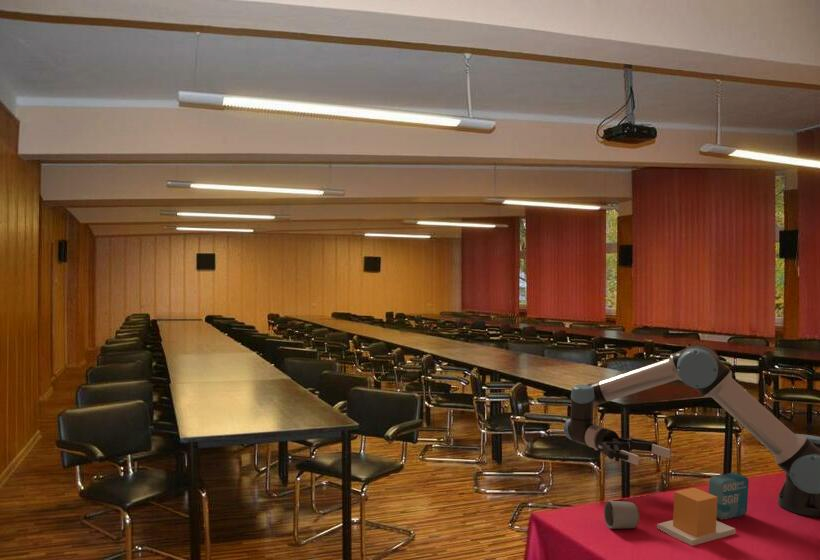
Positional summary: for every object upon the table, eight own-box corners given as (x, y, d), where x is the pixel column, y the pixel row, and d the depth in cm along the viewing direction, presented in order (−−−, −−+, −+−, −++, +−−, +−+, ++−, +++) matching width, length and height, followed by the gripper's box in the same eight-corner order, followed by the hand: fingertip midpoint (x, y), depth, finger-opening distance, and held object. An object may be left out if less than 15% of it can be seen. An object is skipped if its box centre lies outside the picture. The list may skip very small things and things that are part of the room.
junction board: (699, 518, 205) (700, 492, 205) (735, 533, 195) (736, 506, 194) (657, 528, 196) (658, 501, 196) (692, 545, 186) (693, 517, 185)
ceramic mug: (641, 532, 194) (642, 505, 194) (613, 533, 193) (614, 506, 193) (624, 517, 204) (625, 492, 204) (598, 518, 203) (599, 493, 203)
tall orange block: (691, 521, 199) (693, 487, 198) (715, 531, 192) (717, 496, 191) (672, 525, 195) (674, 491, 195) (696, 536, 188) (698, 501, 188)
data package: (719, 521, 204) (721, 481, 203) (706, 515, 208) (708, 476, 207) (747, 514, 209) (749, 476, 208) (734, 509, 213) (736, 471, 212)
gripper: (629, 445, 230) (681, 463, 212) (573, 456, 218) (623, 475, 200) (630, 423, 230) (682, 439, 211) (573, 432, 218) (624, 450, 199)
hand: (654, 457), depth 205 cm, fingers open, 13 cm apart
